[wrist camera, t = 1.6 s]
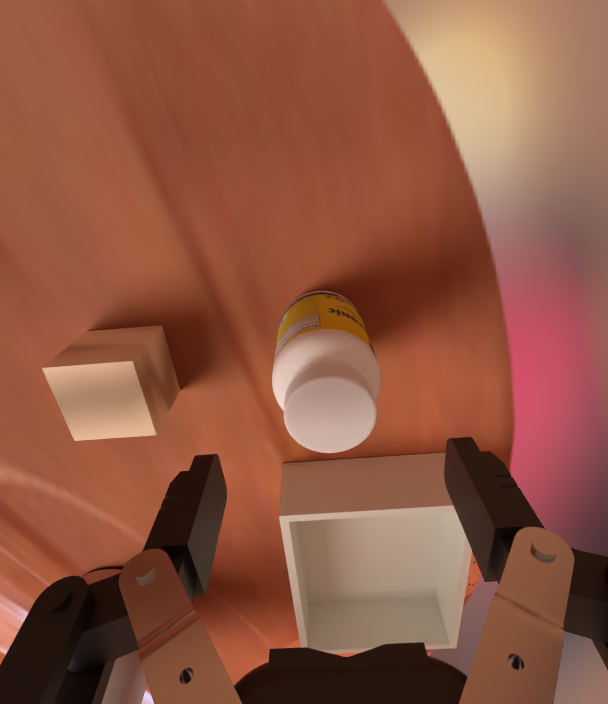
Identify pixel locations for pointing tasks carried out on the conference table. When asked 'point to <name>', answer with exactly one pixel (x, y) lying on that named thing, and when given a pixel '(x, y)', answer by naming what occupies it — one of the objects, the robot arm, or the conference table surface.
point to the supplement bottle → (325, 373)
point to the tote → (373, 552)
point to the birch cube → (114, 383)
